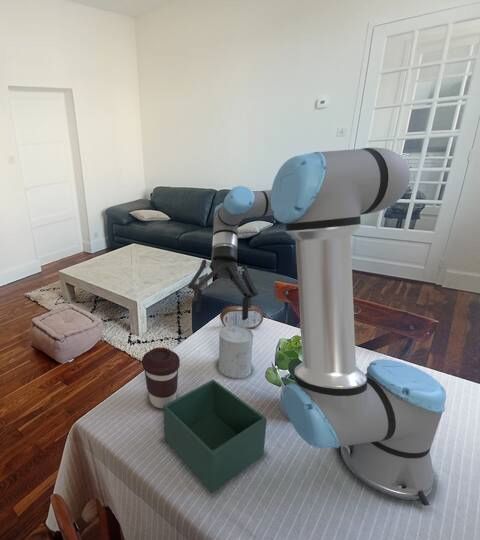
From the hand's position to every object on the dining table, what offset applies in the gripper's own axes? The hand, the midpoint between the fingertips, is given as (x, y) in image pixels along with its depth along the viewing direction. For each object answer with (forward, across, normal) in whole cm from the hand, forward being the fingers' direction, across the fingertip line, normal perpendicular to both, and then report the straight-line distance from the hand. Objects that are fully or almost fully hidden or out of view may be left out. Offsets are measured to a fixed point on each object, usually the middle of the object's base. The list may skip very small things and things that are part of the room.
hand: (221, 315), depth 98 cm
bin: (+34, +3, +8) cm, 35 cm away
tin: (-4, -15, -28) cm, 32 cm away
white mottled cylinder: (+13, -8, -12) cm, 19 cm away
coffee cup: (+25, +14, -4) cm, 29 cm away
